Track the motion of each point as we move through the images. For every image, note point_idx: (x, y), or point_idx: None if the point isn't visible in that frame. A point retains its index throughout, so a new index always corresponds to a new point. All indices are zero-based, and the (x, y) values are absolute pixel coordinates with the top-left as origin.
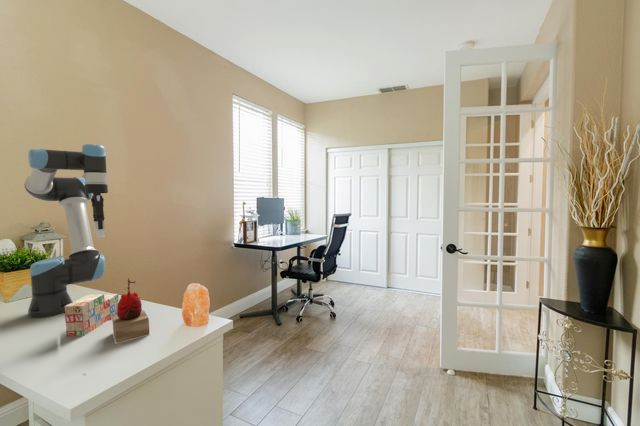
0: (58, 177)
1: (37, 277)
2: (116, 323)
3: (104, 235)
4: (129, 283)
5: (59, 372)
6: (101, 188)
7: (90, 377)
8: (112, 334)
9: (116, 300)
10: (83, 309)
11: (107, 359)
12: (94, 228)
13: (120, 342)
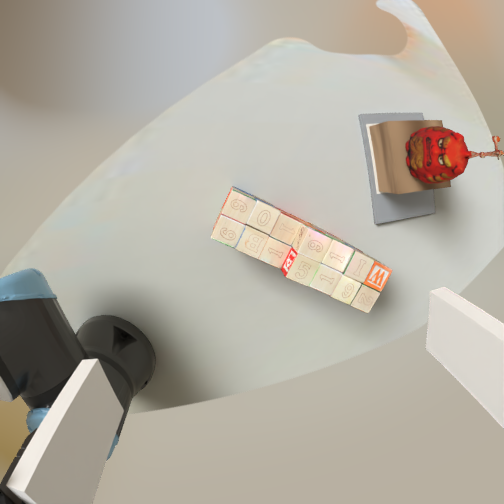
0: None
1: (119, 433)
2: (440, 184)
3: (454, 297)
4: (494, 152)
5: (460, 258)
6: None
7: (489, 216)
8: (385, 192)
9: (241, 193)
10: (384, 265)
11: (461, 197)
12: (106, 453)
13: None
